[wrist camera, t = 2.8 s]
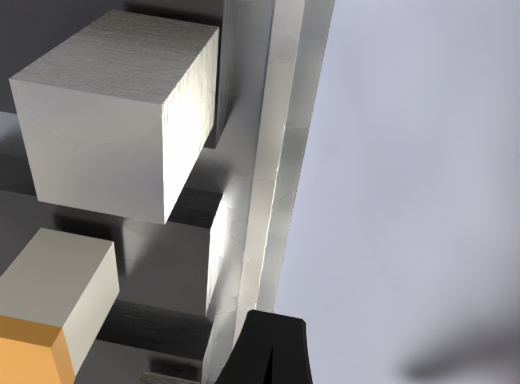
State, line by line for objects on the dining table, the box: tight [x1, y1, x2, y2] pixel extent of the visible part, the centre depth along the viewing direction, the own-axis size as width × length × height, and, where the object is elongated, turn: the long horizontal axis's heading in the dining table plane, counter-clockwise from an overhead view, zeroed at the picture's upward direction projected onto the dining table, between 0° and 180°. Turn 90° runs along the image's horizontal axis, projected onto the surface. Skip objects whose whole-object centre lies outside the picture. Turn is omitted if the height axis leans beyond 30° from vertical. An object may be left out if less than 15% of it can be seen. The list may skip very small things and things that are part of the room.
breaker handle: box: [0, 228, 119, 384], centre depth 11 cm, size 2×2×3 cm
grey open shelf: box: [0, 0, 335, 384], centre depth 13 cm, size 11×16×6 cm
